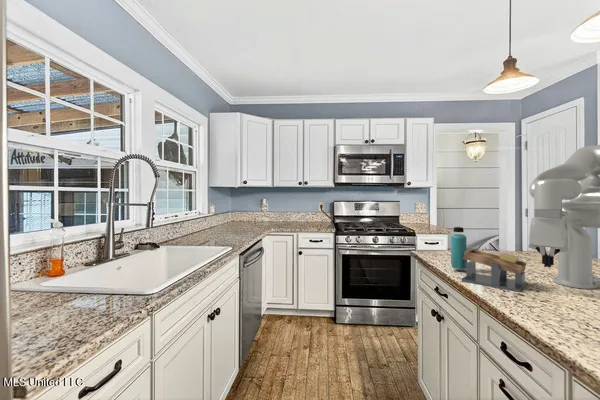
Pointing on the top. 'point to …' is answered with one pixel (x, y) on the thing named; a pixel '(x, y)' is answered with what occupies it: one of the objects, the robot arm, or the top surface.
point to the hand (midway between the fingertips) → (547, 266)
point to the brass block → (509, 258)
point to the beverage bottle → (458, 249)
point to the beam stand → (494, 278)
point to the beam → (493, 261)
